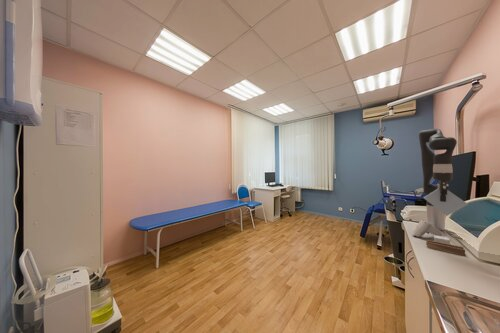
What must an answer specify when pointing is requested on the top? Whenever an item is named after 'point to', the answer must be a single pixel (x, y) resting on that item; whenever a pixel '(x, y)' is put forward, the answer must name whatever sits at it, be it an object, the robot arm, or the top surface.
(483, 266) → the top surface
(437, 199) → the slate sheet
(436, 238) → the offcut top
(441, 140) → the robot arm
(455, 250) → the slot rack
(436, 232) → the infrared thermometer
